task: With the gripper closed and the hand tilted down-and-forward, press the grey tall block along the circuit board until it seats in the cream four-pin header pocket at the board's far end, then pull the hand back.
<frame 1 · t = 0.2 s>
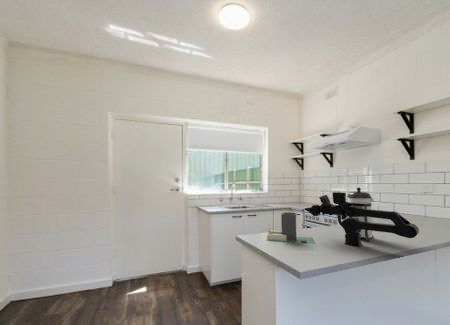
hand: (308, 208, 142), 17 cm above the counter, fingers open, 9 cm apart
grey tall block: (288, 238, 130), point 1 cm above the counter, touching board
board: (289, 240, 130), on the counter
coffee press: (357, 237, 135), on the counter
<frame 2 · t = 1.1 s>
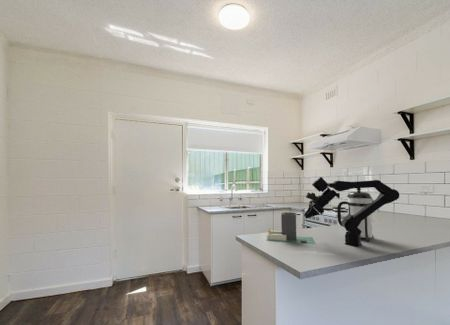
hand: (305, 216, 129), 14 cm above the counter, fingers open, 7 cm apart
nothing on the counter moved.
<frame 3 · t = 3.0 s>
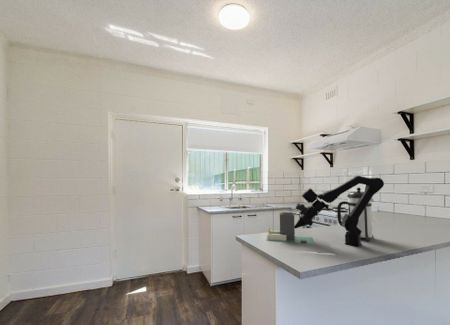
hand: (294, 227, 129), 7 cm above the counter, fingers closed
grey tall block: (287, 238, 130), point 1 cm above the counter
everything else where it was.
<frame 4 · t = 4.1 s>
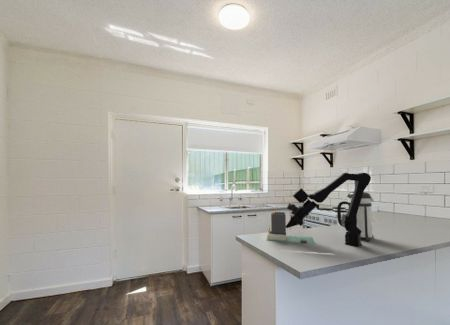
hand: (286, 227, 131), 7 cm above the counter, fingers closed, pressing on grey tall block
grey tall block: (278, 238, 131), point 1 cm above the counter, touching board, gripper
everything else where it was.
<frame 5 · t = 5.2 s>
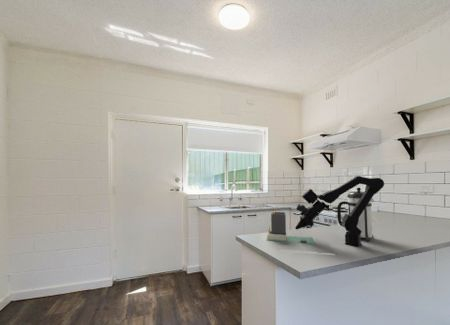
hand: (295, 228, 129), 7 cm above the counter, fingers closed
grey tall block: (278, 238, 131), point 1 cm above the counter, touching board
everything else where it was.
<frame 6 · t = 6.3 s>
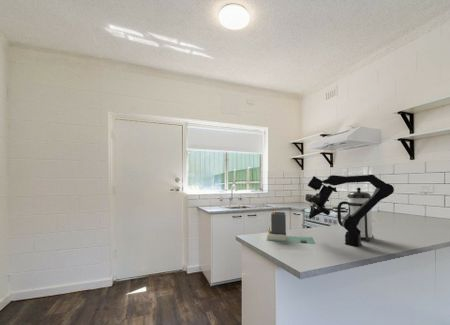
hand: (309, 218, 130), 13 cm above the counter, fingers closed
nothing on the counter moved.
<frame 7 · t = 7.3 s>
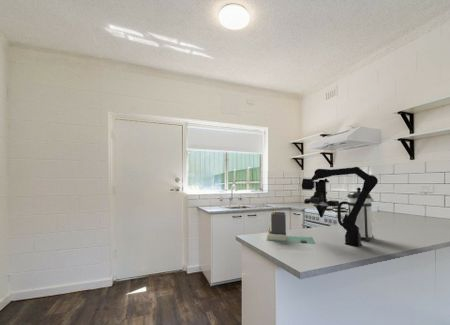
hand: (321, 217, 131), 13 cm above the counter, fingers closed
nothing on the counter moved.
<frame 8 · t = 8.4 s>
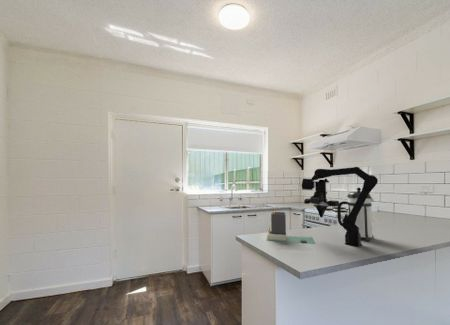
hand: (321, 217, 131), 13 cm above the counter, fingers closed
nothing on the counter moved.
at the end: grey tall block 0.3 cm from the target spot on the board, point 0.8 cm above the board's base; grey tall block tilted 0° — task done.
